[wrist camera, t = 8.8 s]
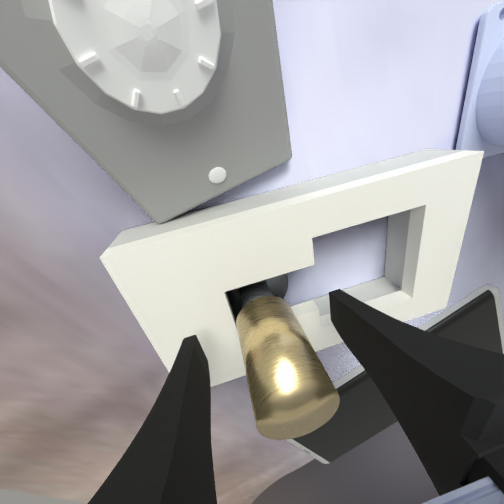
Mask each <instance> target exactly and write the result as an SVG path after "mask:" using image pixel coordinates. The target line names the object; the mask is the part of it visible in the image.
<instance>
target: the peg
mask: <svg viewBox="0 0 504 504" xmlns="http://www.w3.org/2000/svg"><path fill="white" fill-rule="evenodd" d="M287 286H288V279H287V275H286V273H285V274H282V275H279V276H276V277H272V278H269V279H266V280H262V281H259V282H256V283H252V284H249V285H246V286H243V287H239V288H236V289H233V290H229V291H226V294H227V297H228V300H229V303H230V306H231V309H232V312H233V315H236V316H237V320H236V327H237V332H238V337H239V342H240V347H241V352H242V357H243V362H244V367H245V372H246V377H247V382H248V387H249V392H250V397H251V402H252V407H253V411H254V416H255V421H256V426H257V429H258V431H259V433H260V434H262V435H263V436H265V437H267V438H270V439H275V440H286V439H293V438H297V437H300V436H303V435H306V434H308V433H311V432H313V431H314V430H316V429H318V428H319V427H321V426H322V425H324V424H325V423H326V422H327V421H329V420H330V419H331V418H332V416H333V415H334V414H335V412H336V411H337V409H338V406H339V402H340V398H339V394H338V392H337V391H336V389H335V387H334V385H333V383H332V381H331V380H330V378H329V376H328V374H327V372H326V371H325V369H324V367H323V365H322V363H321V361H320V360H319V358H318V356H317V354H316V352H315V350H314V349H313V347H312V345H311V343H310V341H309V339H308V338H307V336H306V334H305V332H304V330H303V329H302V327H301V325H300V323H299V321H298V319H297V318H296V316H295V314H294V312H293V310H292V308H291V307H290V305H289V304H288V302H286V301H285V300H284V299H283V298H284V296H285V294H286V291H287Z"/></svg>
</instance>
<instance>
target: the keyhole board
mask: <svg viewBox="0 0 504 504" xmlns="http://www.w3.org/2000/svg"><path fill="white" fill-rule="evenodd" d="M483 155H484V151H471V150H447V149H424V150H420V151H416V152H413V153H409V154H405V155H401V156H398V157H394V158H390V159H387V160H383V161H379V162H376V163H372V164H368V165H364V166H361V167H357V168H353V169H350V170H346V171H342V172H338V173H335V174H331V175H327V176H324V177H320V178H316V179H313V180H309V181H305V182H301V183H298V184H294V185H290V186H287V187H283V188H279V189H275V190H272V191H268V192H264V193H261V194H257V195H253V196H249V197H246V198H242V199H238V200H235V201H231V202H227V203H224V204H220V205H216V206H212V207H209V208H205V209H201V210H198V211H194V212H190V213H186V214H183V215H179V216H176V217H174V218H172V219H170V220H168V221H166V222H164V223H162V224H158V223H157V222H153V223H149V224H146V225H142V226H138V227H135V228H131V229H127V230H123V231H121V233H120V234H119V235H118V236H117V237H116V239H115V240H114V241H113V242H112V243H111V245H110V246H109V247H108V248H107V249H106V251H105V252H104V253H103V254H102V255H101V257H100V259H101V261H102V263H103V264H104V266H105V268H106V269H107V271H108V272H109V274H110V276H111V277H112V279H113V281H114V282H115V284H116V286H117V287H118V289H119V291H120V292H121V294H122V296H123V297H124V299H125V301H126V302H127V304H128V305H129V307H130V309H131V310H132V312H133V314H134V315H135V317H136V319H137V320H138V322H139V324H140V325H141V327H142V329H143V330H144V332H145V334H146V335H147V337H148V338H149V340H150V342H151V343H152V345H153V347H154V348H155V350H156V352H157V353H158V355H159V357H160V358H161V360H162V362H163V363H164V365H165V366H166V368H167V370H168V371H169V373H170V370H171V368H172V366H173V364H174V361H175V359H176V356H177V354H178V351H179V349H180V346H181V343H182V341H183V339H184V338H186V337H189V336H192V335H196V336H197V338H198V340H199V342H200V344H201V347H202V349H203V351H204V353H205V355H206V357H207V360H208V365H209V373H210V387H213V386H216V385H219V384H222V383H225V382H228V381H231V380H234V379H236V378H239V377H242V376H245V375H246V372H245V367H244V362H243V357H242V352H241V347H240V342H239V337H238V332H237V327H236V321H235V318H234V315H233V312H232V309H231V306H230V303H229V300H228V297H227V294H226V291H229V290H233V289H236V288H239V287H243V286H246V285H249V284H252V283H256V282H259V281H262V280H266V279H269V278H272V277H276V276H279V275H282V274H285V273H289V272H292V271H295V270H299V269H302V268H305V267H309V266H312V265H315V262H314V252H313V242H312V238H314V237H317V236H320V235H324V234H327V233H331V232H334V231H338V230H341V229H344V228H348V227H351V226H355V225H358V224H361V223H365V222H368V221H372V220H375V219H379V218H382V217H385V216H388V230H387V244H386V258H385V273H384V277H381V278H378V279H375V280H372V281H368V282H365V283H362V284H359V285H356V286H353V287H350V288H346V289H343V290H342V291H344V292H346V293H348V294H349V295H351V296H353V297H355V298H356V299H358V300H360V301H362V302H364V303H365V304H367V305H369V306H371V307H373V308H375V309H377V310H379V311H381V312H383V313H385V314H387V315H389V316H391V317H393V318H395V319H397V320H400V321H402V322H405V321H408V320H411V319H414V318H417V317H420V316H423V315H426V314H429V313H432V312H435V311H438V310H441V309H444V308H447V304H448V299H449V295H450V291H451V287H452V283H453V279H454V275H455V271H456V266H457V262H458V258H459V254H460V250H461V246H462V242H463V237H464V233H465V229H466V225H467V221H468V217H469V213H470V208H471V204H472V200H473V196H474V192H475V188H476V184H477V179H478V175H479V171H480V167H481V163H482V159H483ZM290 307H291V308H292V310H293V312H294V314H295V316H296V318H297V319H298V321H299V323H300V325H301V327H302V329H303V330H304V332H305V334H306V336H307V338H308V339H309V341H310V343H311V345H312V347H313V349H314V350H315V352H316V351H319V350H322V349H325V348H328V347H331V346H334V345H337V344H340V343H343V342H344V341H343V340H342V339H341V337H340V335H339V334H338V332H337V330H336V329H335V327H334V325H333V323H332V322H331V316H330V302H329V294H327V295H324V296H321V297H318V298H315V299H312V300H308V301H305V302H302V303H299V304H296V305H293V306H290Z"/></svg>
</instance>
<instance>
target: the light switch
mask: <svg viewBox="0 0 504 504" xmlns="http://www.w3.org/2000/svg"><path fill="white" fill-rule="evenodd" d="M0 67H1V68H2V69H3V70H4V71H5V72H6V73H7V74H8V75H9V76H10V77H11V78H12V79H13V80H14V81H15V82H16V83H17V84H18V85H19V86H20V87H21V88H22V89H23V90H24V91H25V92H26V93H27V94H28V95H29V96H30V97H31V98H32V99H33V100H34V101H35V102H36V103H37V104H38V105H39V106H40V107H41V108H42V109H43V110H44V111H45V112H46V113H47V114H48V115H49V116H50V117H51V118H52V119H53V120H54V121H55V122H56V123H57V124H58V125H59V126H60V127H61V128H62V129H63V130H64V131H65V132H66V133H67V134H68V135H69V136H70V137H71V138H72V139H73V140H74V141H75V142H76V143H77V144H78V145H79V146H80V147H81V148H82V149H83V150H84V151H85V152H86V153H87V154H88V155H89V156H90V157H91V158H92V159H93V160H94V161H95V162H96V163H97V164H98V165H99V166H100V167H101V168H102V169H103V170H104V171H105V172H106V173H107V174H108V175H109V176H110V177H111V178H112V179H113V180H114V181H115V182H116V183H117V184H118V185H119V186H120V187H121V188H122V189H123V190H124V191H125V192H126V193H127V194H128V195H129V196H130V197H132V198H133V199H134V200H135V201H136V202H137V203H138V204H139V205H140V206H141V207H142V208H143V209H144V210H145V211H146V212H147V213H148V214H149V215H150V216H151V217H152V218H153V219H154V220H155V221H156V222H157V223H158V224H162V223H164V222H166V221H168V220H170V219H172V218H174V217H176V216H178V215H180V214H182V213H184V212H186V211H188V210H190V209H192V208H194V207H196V206H198V205H200V204H202V203H204V202H206V201H208V200H210V199H212V198H214V197H216V196H218V195H220V194H222V193H224V192H226V191H228V190H230V189H232V188H234V187H236V186H238V185H240V184H242V183H244V182H246V181H248V180H250V179H252V178H254V177H256V176H258V175H260V174H262V173H264V172H266V171H268V170H270V169H272V168H274V167H276V166H278V165H280V164H282V163H284V162H286V161H288V160H290V159H291V158H292V151H291V143H290V135H289V127H288V120H287V112H286V104H285V96H284V88H283V80H282V73H281V65H280V57H279V49H278V41H277V33H276V26H275V18H274V10H273V2H272V0H0Z"/></svg>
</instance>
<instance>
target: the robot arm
mask: <svg viewBox="0 0 504 504" xmlns="http://www.w3.org/2000/svg"><path fill="white" fill-rule="evenodd" d="M456 150H471V151H484V155H483V158H486V157H489V156H493V155H497V154H500V153H504V2H500V3H496V4H494V5H492V6H490V7H488V8H487V9H486V10H485V11H484V12H483V14H482V15H481V18H480V22H479V27H478V33H477V38H476V43H475V49H474V54H473V59H472V65H471V70H470V75H469V81H468V86H467V91H466V97H465V102H464V107H463V113H462V118H461V124H460V129H459V134H458V140H457V145H456ZM329 302H330V316H331V322H332V323H333V325H334V327H335V329H336V330H337V332H338V334H339V335H340V337H341V339H342V340H343V341H344V343H345V344H346V345H347V347H348V348H349V349H350V351H351V352H352V353H353V355H354V356H355V357H356V359H357V360H358V361H359V362H360V364H361V365H362V366H363V368H364V369H365V370H366V372H367V373H368V374H369V376H370V377H371V379H372V380H373V381H374V383H375V384H376V386H377V387H378V389H379V391H380V392H381V394H382V395H383V397H384V399H385V400H386V402H387V403H388V405H389V407H390V408H391V410H392V412H393V413H394V415H395V417H396V418H397V420H398V421H399V423H400V425H401V426H402V428H403V430H404V432H405V434H406V435H407V437H408V439H409V440H410V442H411V444H412V446H413V447H414V449H415V451H416V453H417V455H418V456H419V458H420V460H421V462H422V463H423V465H424V467H425V469H426V471H427V473H428V475H429V476H430V478H431V480H432V482H433V484H434V486H435V488H436V489H437V492H438V493H439V495H440V496H439V497H436V498H434V499H432V500H429V501H427V502H424V503H422V504H504V354H502V353H497V352H493V351H489V350H485V349H481V348H477V347H474V346H470V345H466V344H463V343H460V342H456V341H453V340H450V339H447V338H444V337H441V336H438V335H435V334H432V333H429V332H427V331H424V330H421V329H419V328H416V327H414V326H411V325H409V324H406V323H404V322H402V321H400V320H397V319H395V318H393V317H391V316H389V315H387V314H385V313H383V312H381V311H379V310H377V309H375V308H373V307H371V306H369V305H367V304H365V303H364V302H362V301H360V300H358V299H356V298H355V297H353V296H351V295H349V294H348V293H346V292H344V291H342V290H340V289H338V290H335V291H332V292H329ZM88 504H217V500H216V491H215V481H214V471H213V460H212V448H211V394H210V373H209V365H208V360H207V357H206V355H205V353H204V351H203V349H202V347H201V344H200V342H199V340H198V338H197V336H196V335H192V336H189V337H186V338H184V339H183V341H182V343H181V346H180V349H179V351H178V354H177V356H176V359H175V361H174V364H173V366H172V368H171V370H170V373H169V375H168V377H167V379H166V382H165V384H164V386H163V388H162V390H161V392H160V394H159V396H158V398H157V400H156V402H155V404H154V406H153V407H152V409H151V411H150V413H149V415H148V416H147V418H146V420H145V422H144V423H143V425H142V427H141V428H140V430H139V432H138V433H137V435H136V436H135V438H134V440H133V441H132V443H131V444H130V446H129V447H128V449H127V450H126V452H125V453H124V455H123V456H122V458H121V459H120V461H119V462H118V463H117V465H116V466H115V468H114V469H113V470H112V472H111V473H110V475H109V476H108V477H107V479H106V480H105V482H104V483H103V484H102V486H101V487H100V488H99V490H98V491H97V492H96V494H95V495H94V496H93V498H92V499H91V500H90V501H89V502H88Z"/></svg>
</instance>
